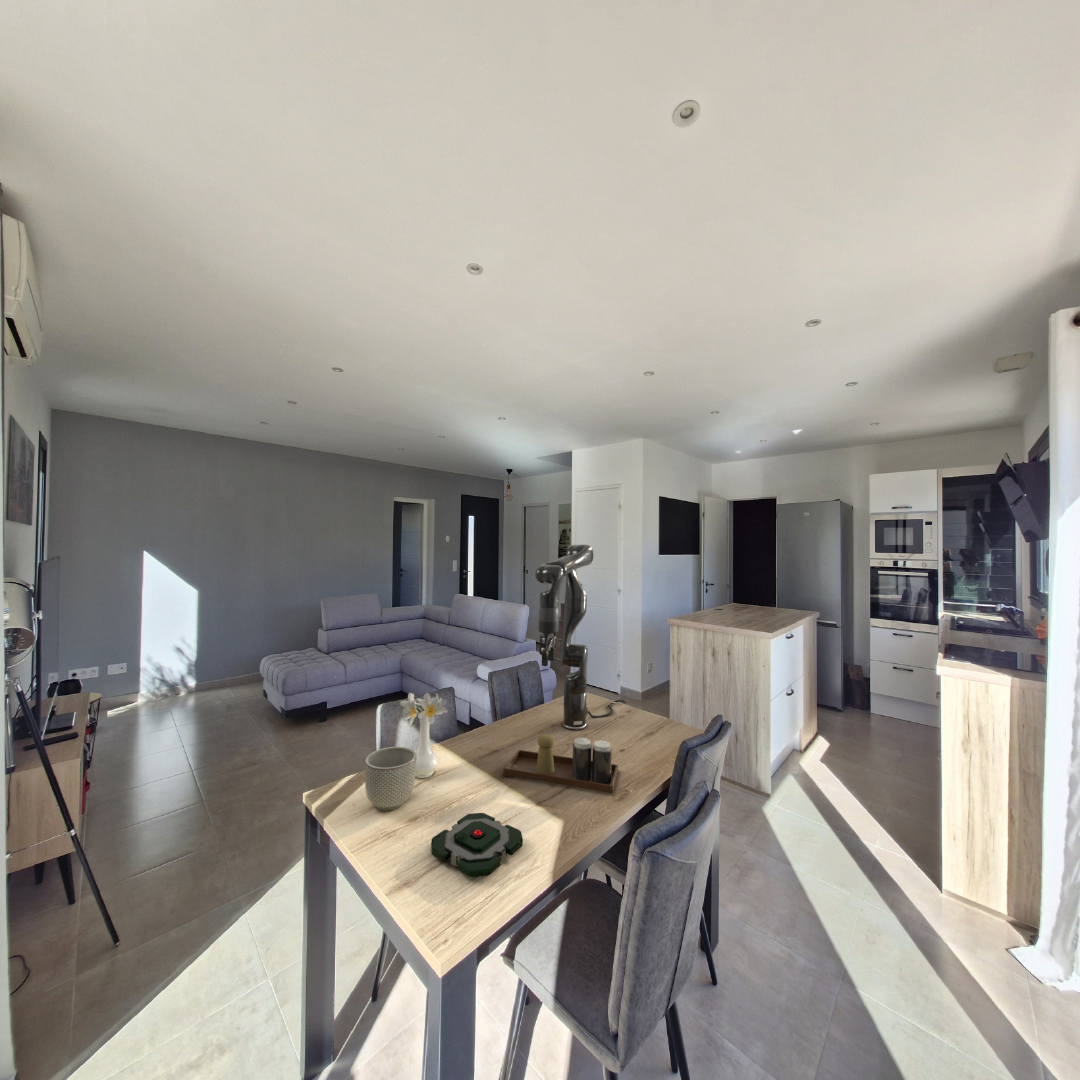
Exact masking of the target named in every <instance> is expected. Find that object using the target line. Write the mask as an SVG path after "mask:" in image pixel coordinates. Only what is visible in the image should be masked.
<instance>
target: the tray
mask: <svg viewBox="0 0 1080 1080" xmlns="http://www.w3.org/2000/svg"><path fill="white" fill-rule="evenodd" d="M538 753H539V752H537V751H531V750H530V751H529V750H525V749H524V750H523V749H518V750H517V751H516V752H515V754H514V755H513V756H512V757H511V759H510V760H509V761H508V763H507V764H506V765H505V766H504V767H503V777H508V778H512V779H514V778H521V779H527V780H532V781H537V782H538V781H539V782H543V783H551V784H555V785H560V786H561V785H562V786H567V787H573V788H579V789H583V790H584V789H585V790H590V791H595V792H596V791H597V792H602V793H608V794H613V793H614V789H615V785H616V781H617V776H618V773H619V765H618V764H616V763H612V766H611V782H610V783H608V784H601V783H596V782H594V781H593V780H592V761H591V778H590V779H589V780H586V781H583V780H577V779H574V778H573V777H572V761H573V757H570V756H569V757H568V756H563V755H557V754H553V761H554V770H555V771H554V772H553V773H551V774H541V773H538V772H537V771H536V766H537V759H538Z"/></svg>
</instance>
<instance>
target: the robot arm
mask: <svg viewBox="0 0 1080 1080" xmlns="http://www.w3.org/2000/svg"><path fill="white" fill-rule="evenodd" d="M593 561H594V550H593V547H592V546H591V545H589V544H571V545H568V547H567V548H566V552H565V556H561V557H559V558H557V559H555V560H554V561H551V562H546V563H542V564H540V565H539V566H538V567H537V568H536V570H535V579H536V581H537V582H538V583H539V584H542V585H551V587H550V588H549V589H546V590H542V591H540V593H539V609H538V627H537V628H538V633H541V634H543V635H542V637H540V638H539V655H541V666H542V667H548V665H549V662H553V661H555V651H556V648H557V633H559V631H560V609H559V608H560V607H559V602H560V593H561V588H562V586H563V582H564V579H565V577H566V579H565V593H564V594H565V596H564V611H563V613H564V614H563V617H564V618H563V620H564V622H563V633H562V642H561V652H560V663H561V665H562V666H564V667H569V668H570V667H571V668H578V670H576V671H574V672H571V673H568V674H566V675H565V676H564V679H563V681H564V682H563V717H562V719H563V722H562V726H563V728H565V729H568V730H574V731H580V730H584V729H586V728H587V716H590V717H591V718H593V719H597V718H605V717H609V716H611V715H612V714H613V713H614V709H613V708H612V707H611V706H612V705H614V704H615V703H612V702H616V703H623V704H627V702H626V701H625V700H623V699H616V700H614V701H611V702H609V703H608V705H607V708H608V709H609V710H610V712H608V713H605V714H602V715H593V713H591V711H589V710H588V709H589V707H587V685H588V684H587V681H588V680H587V679H588V658H589V649H588V646H587V645H586V644H582V643H581V644H580V643H571V641H572V637H573V635H574V633H575V631H576V629H577V628H578V626H579V625H580V623H581V622H582V621H583V620H584V617H586V613H587V606H588V605H587V604H588V603H587V602H588V597H587V593H586V591H585V589H584V588H583V585H582V584H581V583H580V581H579V578H578V575H577V574H578V573H577V570H578V569H580V568H583V567H586V566H590V565H591V564H592V563H593ZM609 704H610V705H609Z"/></svg>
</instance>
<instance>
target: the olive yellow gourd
mask: <svg viewBox="0 0 1080 1080" xmlns="http://www.w3.org/2000/svg"><path fill="white" fill-rule="evenodd" d="M537 744H538V752H537V753H538V759H537V766H536V771H537V772H538V773H541V774H551V773H553V772H554V771H555V770H554V761H553V755H554V752H553V746H554V744H555V740H554V737H553V735H551V734H550V733H549V734H548V733H544V734H540V735H539V736H538V738H537Z"/></svg>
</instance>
